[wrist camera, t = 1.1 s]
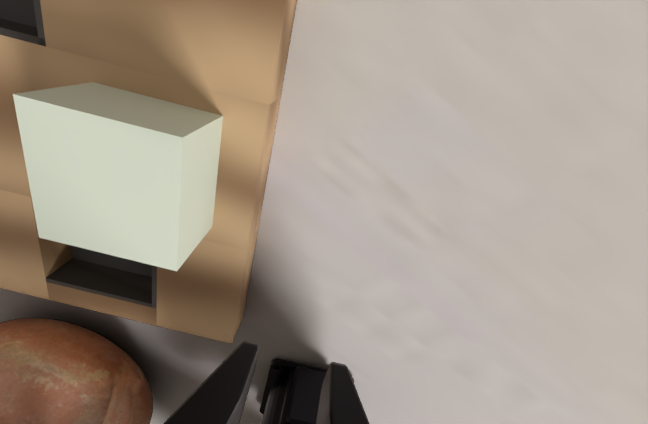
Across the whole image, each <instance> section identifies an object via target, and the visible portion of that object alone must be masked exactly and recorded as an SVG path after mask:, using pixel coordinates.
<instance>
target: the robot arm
mask: <svg viewBox="0 0 648 424" xmlns="http://www.w3.org/2000/svg"><path fill="white" fill-rule="evenodd" d="M258 352H259V345H258V344H257V343H253V342H249V341H244V342H242V343H241V344H240V345H239V346H238V347H237V348H236V349H235V350H234V351H233V352H232V353H231V354H230V355H229V356H228V357H227V358H226V359H225V360H224V361H223V363H222V364H221V365H220V366H219V367H218V368H217V369H216V370H215V371H214V372H213V373H212V374H211V375H210V376H209V377H208V378H207V379H206V380H205V381H204V382H203V383H202V384H201V385H200V386H199V387H198V388H197V389H196V390H195V391H194V393H193V394H192V395H191V396H190V397H189V398H188V399H187V400H186V401H185V402H184V403H183V404H182V405H181V406H180V407H179V408H178V409H177V410H176V411H175V412H174V413H173V414H172V415H171V416H170V417H169V418H168V419H167V420H166V421H165V422H164V424H239V422H240V418H241V415H242V412H243V408H244V405H245V401H246V398H247V394H248V391H249V388H250V384H251V381H252V377H253V374H254V370H255V366H256V361H257V357H258ZM260 412H261V413H262V414H264V415H263V419H262V423H261V424H369V422H368V419H367V416H366V414H365V411H364V409H363V406H362V403H361V401H360V398H359V396H358V393H357V390H356V388H355V385H354V379H353V378H352V377H351V375H350V372H349V370H348V368H347V366H346V365H344V364H340V363H336V362H331V363H330V365H329V367H328V370H327V371H326V370H322V369H318V368H314V367H309V366H305V365H301V364H297V363H293V362H289V361H285V360H280V359H274V360H272V362H271V366H270V370H269V374H268V378H267V383H266V387H265V391H264V395H263V399H262V403H261V407H260Z"/></svg>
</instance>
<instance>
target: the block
mask: <svg viewBox="0 0 648 424" xmlns="http://www.w3.org/2000/svg"><path fill="white" fill-rule="evenodd" d="M13 98H14V104H15V109H16V115H17V120H18V126H19V131H20V137H21V142H22V148H23V153H24V159H25V164H26V170H27V175H28V181H29V186H30V191H31V197H32V202H33V208H34V213H35V219H36V224H37V230H38V235H39V238H43V239H47V240H51V241H55V242H59V243H63V244H67V245H72V246H76V247H80V248H84V249H88V250H92V251H96V252H100V253H104V254H108V255H112V256H116V257H120V258H124V259H129V260H133V261H137V262H141V263H145V264H149V265H153V266H157V267H161V268H165V269H169V270H173V271H178V269H179V268H180V267H181V266H182V264H183V263H184V262H185V261H186V259H187V258H188V257H189V255H190V254H191V253H192V252H193V250H194V249H195V248H196V247H197V245H198V244H199V243H200V242H201V240H202V239H203V238H204V237H205V235H206V234H207V233H208V231H209V230H210V229H211V228H212V225H213V215H214V205H215V194H216V184H217V174H218V163H219V153H220V143H221V132H222V122H223V116H222V115H218V114H214V113H210V112H207V111H203V110H199V109H195V108H191V107H187V106H183V105H180V104H176V103H172V102H168V101H164V100H160V99H156V98H152V97H149V96H145V95H141V94H137V93H133V92H129V91H125V90H122V89H118V88H114V87H110V86H106V85H102V84H98V83H95V82H91V83H84V84H77V85H70V86H64V87H57V88H50V89H43V90H37V91H30V92H23V93H16V94H13Z"/></svg>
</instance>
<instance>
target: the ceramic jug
mask: <svg viewBox="0 0 648 424" xmlns="http://www.w3.org/2000/svg"><path fill="white" fill-rule="evenodd" d="M152 412H153V397H152V393H151V389H150V386H149V384H148V381H147V379H146V377H145V375H144V373H143V372H142V370H141V369H140V367H139V366H138V365H137V363H136V362H135V361H134V360H133V359H132V358H131V357H130V356H129V355H128V354H127V353H126V352H124V351H123V350H122V349H121V348H119V347H118V346H117V345H115V344H114V343H112V342H111V341H109V340H108V339H106V338H104V337H103V336H101V335H99V334H97V333H95V332H93V331H91V330H89V329H86V328H83V327H80V326H77V325H75V324H72V323H68V322H63V321H59V320H53V319H44V318H23V319H14V320H8V321H4V322H0V424H150V421H151V417H152Z"/></svg>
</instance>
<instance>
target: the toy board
mask: <svg viewBox="0 0 648 424" xmlns="http://www.w3.org/2000/svg"><path fill="white" fill-rule="evenodd" d="M296 4H297V0H0V288H2V289H6V290H11V291H15V292H19V293H23V294H27V295H31V296H35V297H40V298H44V299H48V300H52V301H56V302H60V303H65V304H69V305H73V306H77V307H81V308H85V309H89V310H94V311H98V312H102V313H106V314H110V315H114V316H118V317H123V318H127V319H131V320H135V321H139V322H143V323H148V324H152V325H156V326H160V327H164V328H168V329H172V330H177V331H181V332H185V333H189V334H193V335H197V336H202V337H206V338H210V339H214V340H218V341H222V342H226V343H231V344H232V342H233V340H234V337H235V335H236V333H237V330H238V328H239V325H240V323H241V321H242V318H243V315H244V309H245V304H246V298H247V292H248V286H249V280H250V274H251V268H252V262H253V256H254V251H255V245H256V239H257V233H258V227H259V221H260V215H261V209H262V204H263V198H264V192H265V186H266V180H267V174H268V168H269V162H270V156H271V151H272V145H273V139H274V133H275V127H276V121H277V115H278V109H279V104H280V98H281V92H282V86H283V80H284V74H285V68H286V62H287V56H288V51H289V45H290V39H291V33H292V27H293V21H294V15H295V9H296ZM91 82H95V83H98V84H102V85H106V86H110V87H114V88H118V89H122V90H125V91H129V92H133V93H137V94H141V95H145V96H149V97H152V98H156V99H160V100H164V101H168V102H172V103H176V104H180V105H183V106H187V107H191V108H195V109H199V110H203V111H207V112H210V113H214V114H218V115H222V116H223V122H222V132H221V143H220V153H219V163H218V174H217V184H216V194H215V205H214V215H213V225H212V228H211V229H210V230H209V231H208V233H207V234H206V235H205V237H204V238H203V239H202V240H201V242H200V243H199V244H198V245H197V247H196V248H195V249H194V250H193V252H192V253H191V254H190V255H189V257H188V258H187V259H186V261H185V262H184V263H183V264H182V266H181V267H180V268H179V269H178V271H173V270H169V269H165V268H161V267H157V266H153V265H149V264H145V263H141V262H137V261H133V260H129V259H124V258H120V257H116V256H112V255H108V254H104V253H100V252H96V251H92V250H88V249H84V248H80V247H76V246H72V245H67V244H63V243H59V242H55V241H51V240H47V239H43V238H39V235H38V230H37V224H36V219H35V213H34V208H33V202H32V197H31V191H30V186H29V181H28V175H27V170H26V164H25V159H24V153H23V148H22V142H21V137H20V131H19V126H18V120H17V115H16V109H15V104H14V98H13V94H16V93H23V92H30V91H37V90H43V89H50V88H57V87H64V86H70V85H77V84H84V83H91Z"/></svg>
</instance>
